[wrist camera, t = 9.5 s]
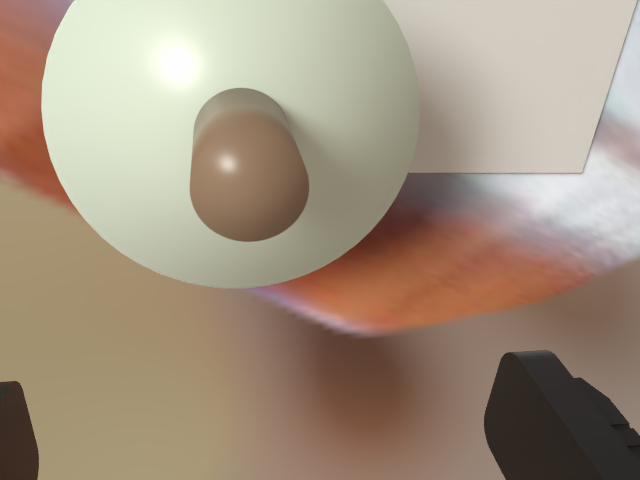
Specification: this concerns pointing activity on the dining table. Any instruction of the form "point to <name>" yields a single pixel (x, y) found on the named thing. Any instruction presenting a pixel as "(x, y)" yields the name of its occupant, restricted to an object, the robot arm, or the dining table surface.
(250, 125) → the lid
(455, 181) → the dining table surface
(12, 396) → the robot arm
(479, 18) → the mat
